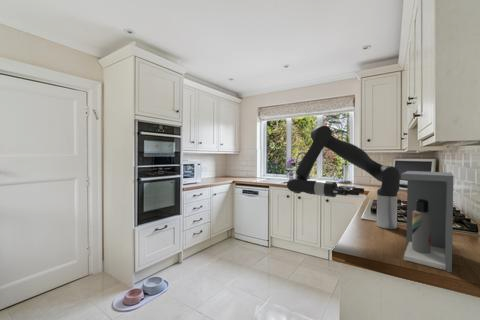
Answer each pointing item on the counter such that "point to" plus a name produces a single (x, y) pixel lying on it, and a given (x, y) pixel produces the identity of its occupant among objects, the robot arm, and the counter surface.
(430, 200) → the open shelf
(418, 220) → the lotion bottle
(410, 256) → the shelf mat
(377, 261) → the counter surface
